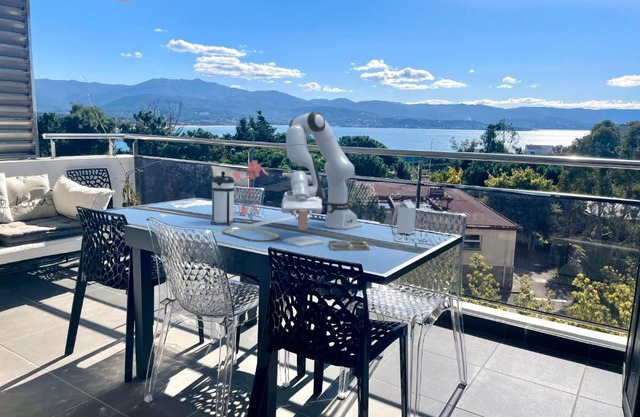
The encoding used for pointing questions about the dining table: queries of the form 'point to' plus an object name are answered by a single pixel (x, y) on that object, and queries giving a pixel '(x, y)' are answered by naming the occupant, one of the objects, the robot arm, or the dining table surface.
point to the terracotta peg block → (302, 219)
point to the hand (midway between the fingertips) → (303, 218)
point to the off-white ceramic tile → (302, 241)
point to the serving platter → (252, 230)
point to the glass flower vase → (252, 173)
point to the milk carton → (406, 217)
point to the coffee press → (222, 199)
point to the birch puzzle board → (347, 245)
